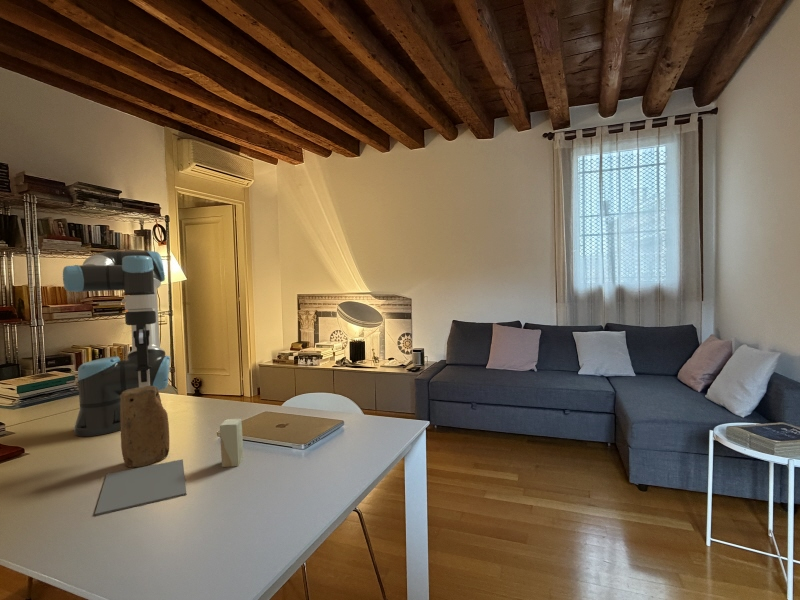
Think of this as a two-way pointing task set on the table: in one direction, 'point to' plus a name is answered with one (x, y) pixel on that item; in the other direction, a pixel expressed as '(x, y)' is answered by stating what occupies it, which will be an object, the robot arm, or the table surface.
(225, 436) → the box
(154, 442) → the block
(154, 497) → the mat
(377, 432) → the table surface
